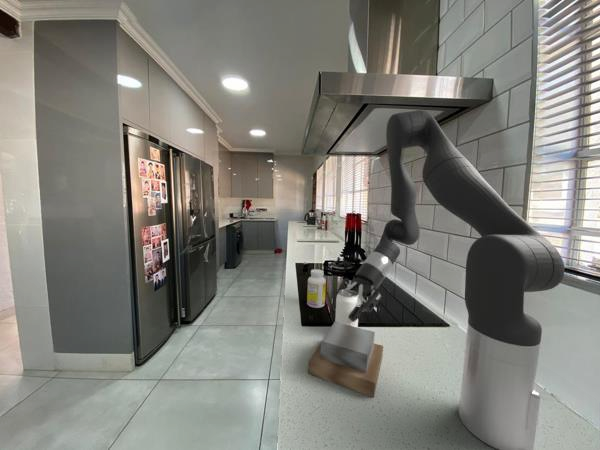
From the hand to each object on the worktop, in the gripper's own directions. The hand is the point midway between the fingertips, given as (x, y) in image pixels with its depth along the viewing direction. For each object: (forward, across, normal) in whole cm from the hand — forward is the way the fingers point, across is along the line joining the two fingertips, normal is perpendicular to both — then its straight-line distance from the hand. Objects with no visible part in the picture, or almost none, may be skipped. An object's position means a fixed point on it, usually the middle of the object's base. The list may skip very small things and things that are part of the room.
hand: (342, 314), depth 69 cm
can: (+3, 0, +6) cm, 6 cm away
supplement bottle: (+1, -20, +8) cm, 22 cm away
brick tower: (+10, +11, -1) cm, 15 cm away
